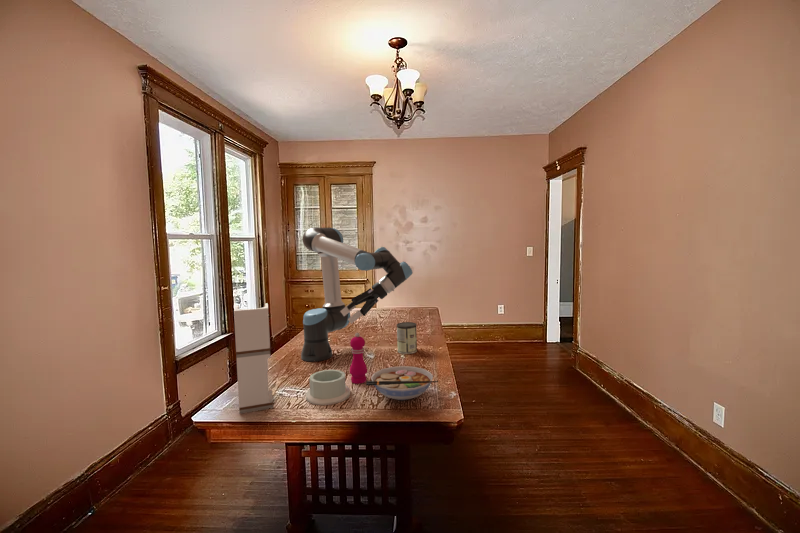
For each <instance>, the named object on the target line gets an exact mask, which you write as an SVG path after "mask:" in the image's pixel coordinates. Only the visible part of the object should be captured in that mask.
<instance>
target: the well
mask: <svg viewBox="0 0 800 533" xmlns="http://www.w3.org/2000/svg"><path fill="white" fill-rule="evenodd" d="M308 382H309V389H308V390H307V391H306V394H305V396H306V397H305V398H306V401H307V402H308V403H309V402H310V403H309V404H311V403H312V405H316V406H331V405H335V404H339V403H342V402H344V401H346V400H347V399H348V398H349V397H350V395H351V389H350V387H349V386H348V385H347V384H346V372H344V371H343V370H339V369H324V370H319V371H316V372H314V373H313V374H311V375H310V376H309V380H308Z"/></svg>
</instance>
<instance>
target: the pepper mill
mask: <svg viewBox="0 0 800 533" xmlns="http://www.w3.org/2000/svg"><path fill="white" fill-rule="evenodd" d="M349 342H350V343H349V346H350V347H351V353H352V361H351V364H350V366H349V374H350V375H351V377H350V383H352V384H356V385H360V384H364V383H366V382H367V375H366V374H367V373H368V367H367V364H366V362H365V359H364V352H365V348H364V347H365V345H366V341H365V339H364V338H363V336H360V333H359V332H355V334H354V336H353V337H352V338H351V339H350V341H349Z"/></svg>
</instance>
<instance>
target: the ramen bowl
mask: <svg viewBox="0 0 800 533" xmlns="http://www.w3.org/2000/svg"><path fill="white" fill-rule="evenodd" d="M370 379H371V380H366V382H365V386H366V387H367V386H374V388H376V390H377V391H378V392H379V393H380V394H381V395H383V396H384V397H386V398H390V399H393V400H397V401H408V400H411V399H414V398H417V397H419V396H421V395H423V393H425V392H426V391H427V390H428V388H430V386H431V385H432V384H431V383H439V380H434V375H433V374H432V372H431V371H429V370H427V369H425V368H422V367H417V366H412V365H411V366H408V365H398V366H390V367H386V368H382V369H379V370H377V371H375V372H374V373H373V374H372V375H371V377H370Z"/></svg>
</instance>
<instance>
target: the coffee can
mask: <svg viewBox="0 0 800 533" xmlns="http://www.w3.org/2000/svg"><path fill="white" fill-rule="evenodd" d="M417 325H418V324H417V323H416V322H412V321H403V322H398V323H397V324H396V338H397V339H396V341H397V342H396V343H397V345H396V346H397V347H396V348H397V353H399V354H402V355H410V354H415V353H416V352H418V341H417V335H418V334H417Z"/></svg>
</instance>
